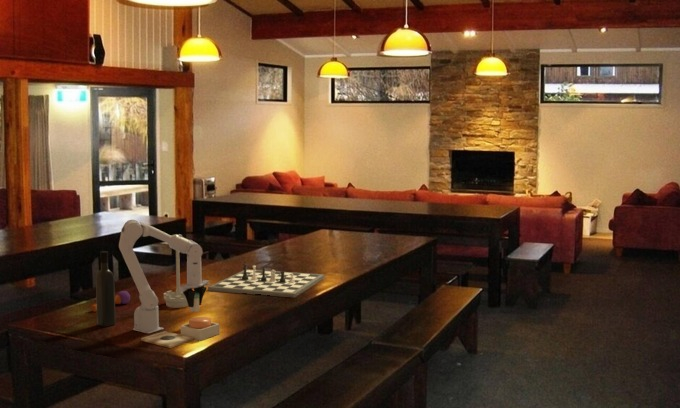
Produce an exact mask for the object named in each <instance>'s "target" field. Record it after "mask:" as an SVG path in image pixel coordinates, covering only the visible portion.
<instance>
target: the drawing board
mask: <svg viewBox="0 0 680 408" xmlns="http://www.w3.org/2000/svg"><path fill="white" fill-rule="evenodd" d="M140 341H141V342H146V343H149V344H154V345H157V346H159V347H160V346H161V347H164V348H165V347H166V348H169V349H171V348H174V347H177V346H181V345H183V344H187V343H189V342H192V341H195V339H194V338H192V337H188V336H184V335H181V333H180V334H179V333H175V332H171V331H167V330H164V331H161V332H157V333H154V334H150V335H148V336H144V337H141V338H140Z"/></svg>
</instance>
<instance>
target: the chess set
mask: <svg viewBox="0 0 680 408" xmlns="http://www.w3.org/2000/svg"><path fill="white" fill-rule="evenodd" d="M242 267H243V269H242V270H241V271H239V272H236V273H235V274H233V275H230V276H229V277H227V278H223V279H222V280H220V281H217V282H215V283H214V284H211V285H208V286H207V291H208V292H217V293H218V292H219V293H220V292H221V293H233V294H242V293H247V294H246V295H255V294H261V295H260V296H267V295H270V296H269V297H280V298H296V297H298V296H300V295H302V293H304V292H306V291H307V290H309V289H310V288H312V287H314V286H315V285H316V284H318V283H319V282H321V281H322V280H324V279H325V274H323V273H321V274H319V273H308V272H307V273H306V272H304V273H303V272H290V271H283V270H281V271H278V270H277V271H276V270H275V269H271V270H266V269H265V268H264V267H263V268H262V270H261V269H256V268H257V265H255V264H254V265H252V268H253V269H249V268H248V264H247V263H246V261H244V263H242Z"/></svg>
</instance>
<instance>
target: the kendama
mask: <svg viewBox="0 0 680 408" xmlns="http://www.w3.org/2000/svg"><path fill="white" fill-rule="evenodd" d="M130 300H131V295H130V293H129V292H128V291H127V290H121V291H119V292H118V293H117V294H115V305H126V304H128V303H129V302H130ZM90 310H91V312H92V313H93V312H94V313H97V303H94V304H91V306H90Z"/></svg>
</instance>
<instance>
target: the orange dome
mask: <svg viewBox="0 0 680 408" xmlns="http://www.w3.org/2000/svg"><path fill="white" fill-rule="evenodd" d="M211 322H212V318H211V317H207V316H196V317H191V318H190V319H188V323H189V327H191V328H195V329H204V328H207V327H210V326H211Z"/></svg>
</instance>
